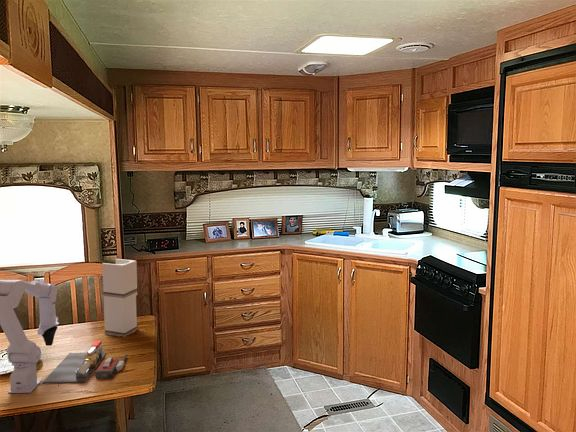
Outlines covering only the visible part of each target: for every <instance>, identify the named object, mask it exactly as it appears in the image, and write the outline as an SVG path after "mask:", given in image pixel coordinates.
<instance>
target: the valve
mask: <svg viewBox="0 0 576 432" xmlns="http://www.w3.org/2000/svg"><path fill="white" fill-rule="evenodd" d="M104 353H105V350H104V348H103V346H101V345H100V346H99V347H98V349H95V351H94V354H93V355H87V354H85V355H84V357H85V360H84V361H83V362H82V366H81V367H80V368H79V369H78V370H77V371H76V378H87V377H88V376H89V369H91V368H94V367H96V366H97V367H98V365H97V364H96V361H97V360H98V358H102V357H103V356H104ZM104 357H105V356H104ZM104 357H103V358H104ZM97 367H96V368H97ZM89 377H90V376H89ZM89 377H88V378H89Z"/></svg>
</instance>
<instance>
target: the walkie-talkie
mask: <svg viewBox="0 0 576 432" xmlns="http://www.w3.org/2000/svg"><path fill="white" fill-rule="evenodd" d="M127 357H128V354H126V353H125V354H124V356H123V358H122V359H121V360H119V359H117V358H114V357H107V358H104V359H102V360H101V362H100V363H99V366H97V369H96V370H95V372H94V373H95V379H110V378H113V377H114V375H115V373H116V372H119V371H121V370H122V369H123V368H124V367H125V361H126V359H127Z"/></svg>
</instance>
